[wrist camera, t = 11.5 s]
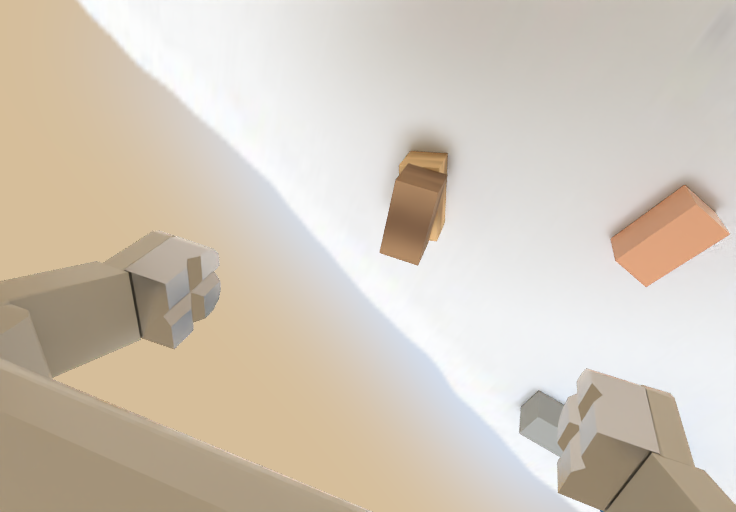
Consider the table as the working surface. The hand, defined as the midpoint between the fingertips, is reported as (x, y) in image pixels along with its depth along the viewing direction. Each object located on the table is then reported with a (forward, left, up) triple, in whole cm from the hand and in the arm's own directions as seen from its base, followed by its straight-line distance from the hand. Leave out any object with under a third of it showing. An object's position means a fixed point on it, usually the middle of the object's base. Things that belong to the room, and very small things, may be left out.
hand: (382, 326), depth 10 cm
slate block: (-16, +35, -34) cm, 51 cm away
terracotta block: (-16, +10, -34) cm, 39 cm away
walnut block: (+4, +12, -30) cm, 33 cm away
